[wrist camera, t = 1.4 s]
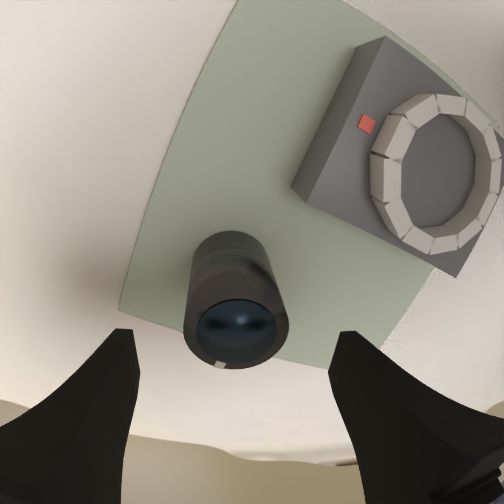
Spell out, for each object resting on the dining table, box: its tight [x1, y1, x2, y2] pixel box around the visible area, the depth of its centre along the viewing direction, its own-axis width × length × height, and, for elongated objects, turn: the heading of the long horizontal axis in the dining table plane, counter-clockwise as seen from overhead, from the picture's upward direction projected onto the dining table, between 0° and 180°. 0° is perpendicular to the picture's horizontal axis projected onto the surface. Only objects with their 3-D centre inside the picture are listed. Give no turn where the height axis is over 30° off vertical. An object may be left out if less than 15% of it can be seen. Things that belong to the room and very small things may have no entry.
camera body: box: [290, 36, 504, 278], centre depth 13 cm, size 10×8×4 cm
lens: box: [183, 230, 289, 369], centre depth 14 cm, size 4×4×6 cm
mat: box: [118, 0, 500, 370], centre depth 16 cm, size 17×20×1 cm
